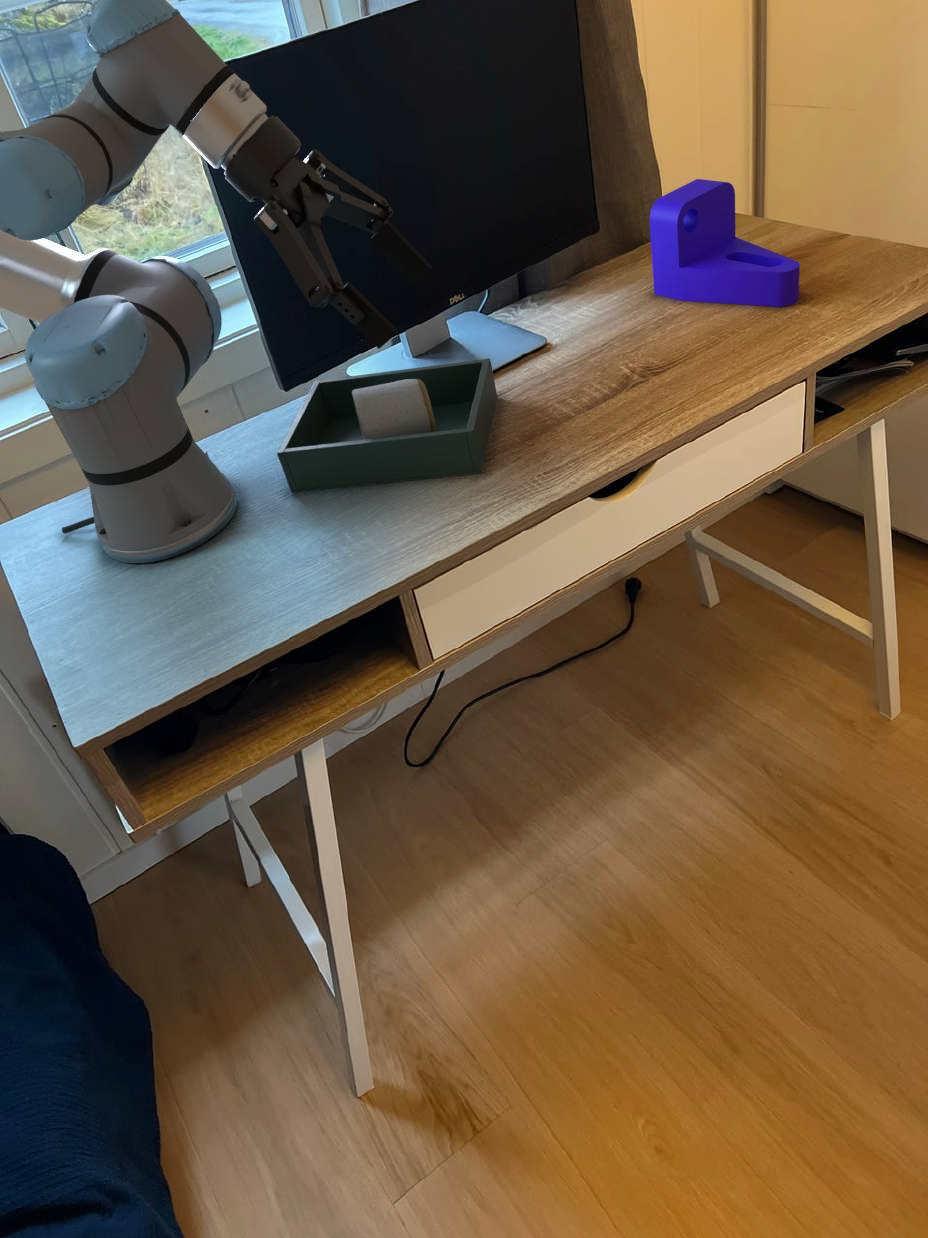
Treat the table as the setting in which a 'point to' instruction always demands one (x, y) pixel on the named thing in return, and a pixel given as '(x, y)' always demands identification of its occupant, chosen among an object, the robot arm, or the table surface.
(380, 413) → the ceramic mug
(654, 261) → the bracket
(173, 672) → the table surface
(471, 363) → the tote
